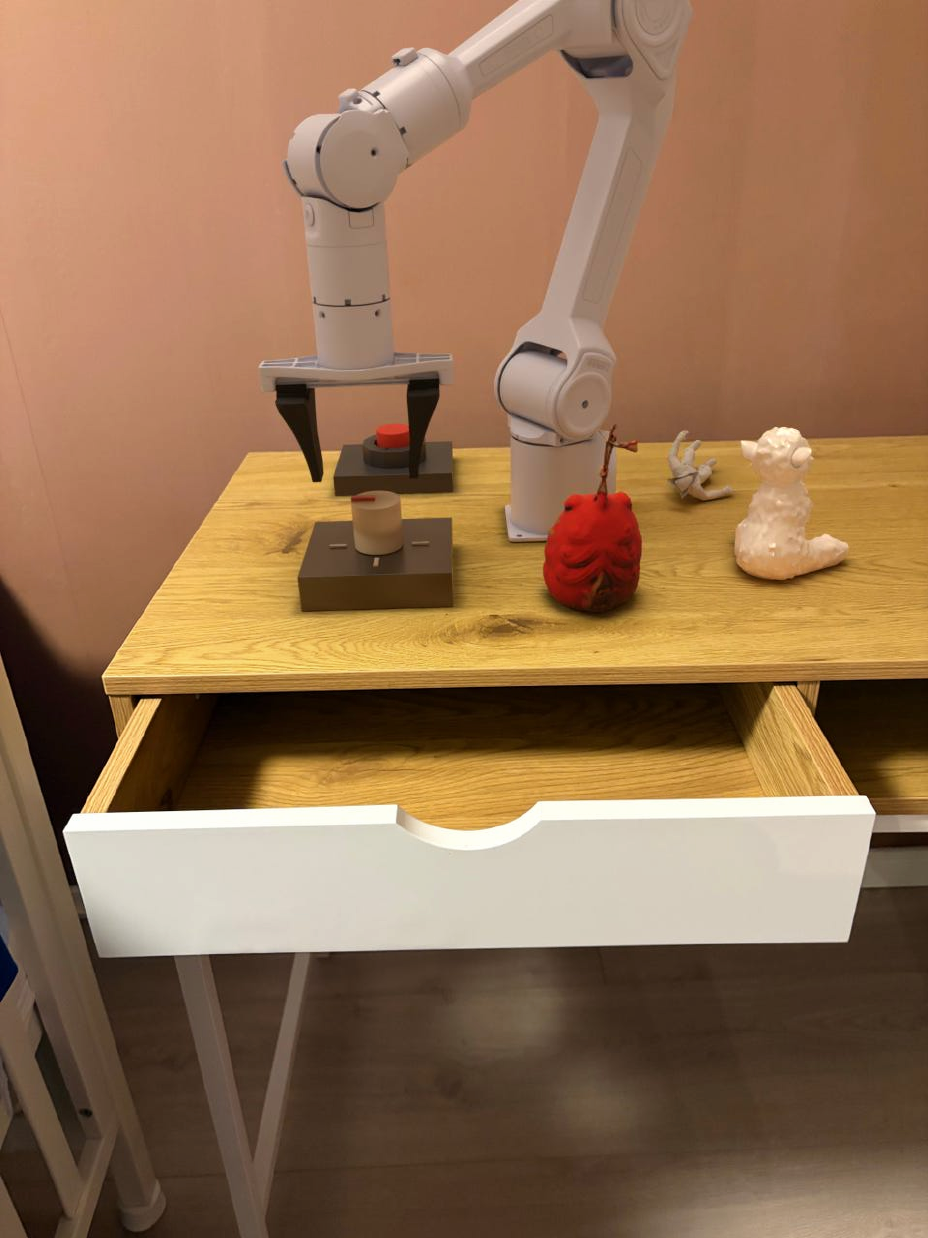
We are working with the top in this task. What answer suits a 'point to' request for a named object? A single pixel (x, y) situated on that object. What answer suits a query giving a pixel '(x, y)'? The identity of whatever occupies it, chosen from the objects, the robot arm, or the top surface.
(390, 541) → the dial knob
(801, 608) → the top surface
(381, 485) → the button box
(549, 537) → the red clay folk toy
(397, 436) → the button
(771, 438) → the sitting furry creature
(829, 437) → the top surface
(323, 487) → the top surface
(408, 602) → the dial panel
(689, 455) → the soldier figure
